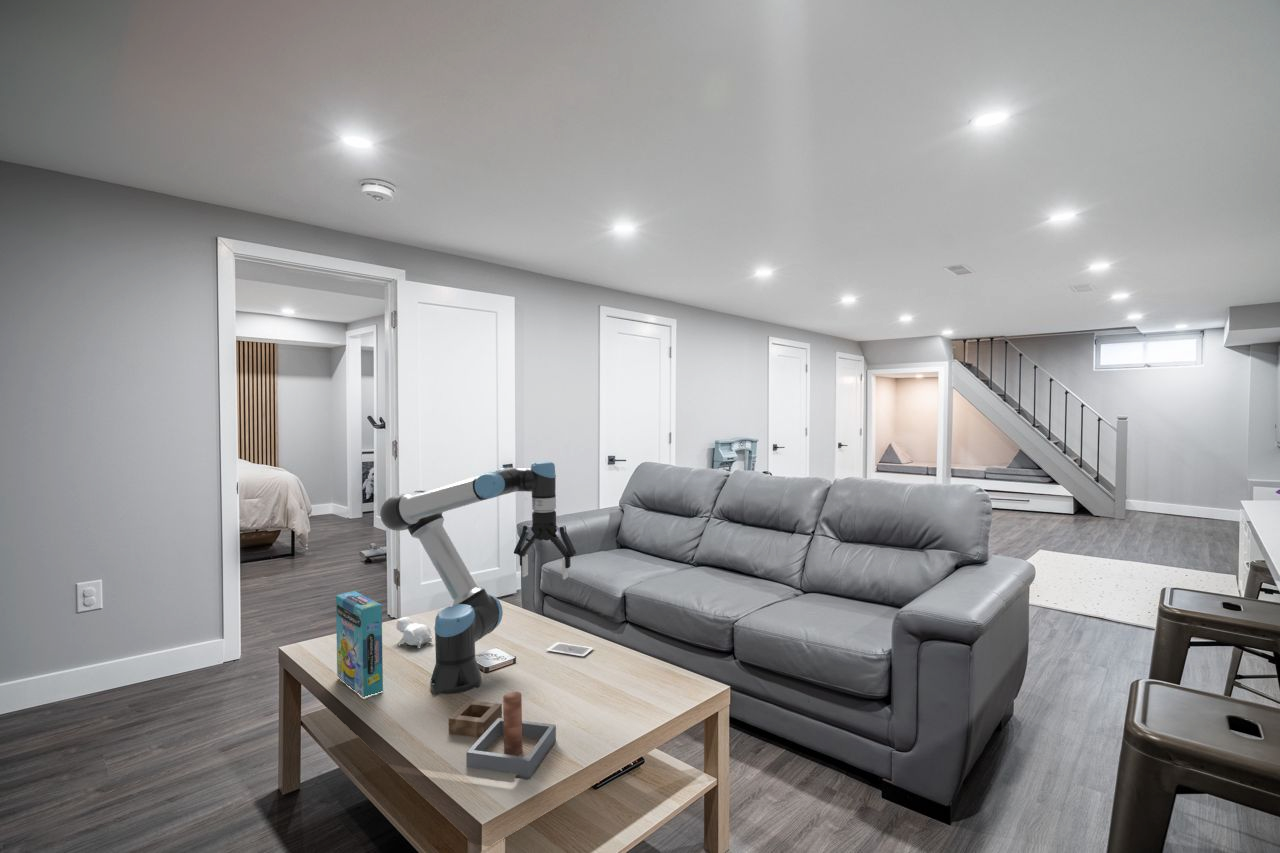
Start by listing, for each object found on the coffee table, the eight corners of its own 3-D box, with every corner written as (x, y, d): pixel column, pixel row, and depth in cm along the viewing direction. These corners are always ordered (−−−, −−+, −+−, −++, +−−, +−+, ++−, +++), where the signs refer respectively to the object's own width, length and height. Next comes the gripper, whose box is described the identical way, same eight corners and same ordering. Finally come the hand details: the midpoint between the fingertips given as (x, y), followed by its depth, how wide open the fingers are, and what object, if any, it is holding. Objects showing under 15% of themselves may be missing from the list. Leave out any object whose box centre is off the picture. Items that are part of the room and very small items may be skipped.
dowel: (500, 756, 142) (499, 699, 142) (509, 746, 147) (508, 690, 146) (517, 758, 141) (516, 700, 141) (525, 748, 146) (524, 692, 145)
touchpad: (557, 645, 214) (557, 639, 214) (594, 650, 209) (594, 644, 209) (545, 653, 207) (545, 647, 207) (583, 659, 202) (583, 653, 201)
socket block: (448, 737, 153) (448, 718, 153) (468, 717, 162) (468, 700, 162) (484, 741, 150) (483, 722, 150) (502, 721, 160) (501, 703, 160)
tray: (466, 770, 138) (466, 752, 138) (498, 734, 154) (498, 717, 154) (529, 779, 134) (529, 760, 134) (556, 741, 150) (555, 724, 150)
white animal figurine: (432, 649, 218) (406, 628, 225) (437, 630, 217) (411, 609, 223) (413, 658, 211) (387, 636, 218) (418, 637, 209) (392, 616, 216)
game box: (336, 679, 187) (334, 595, 187) (356, 673, 192) (354, 590, 191) (362, 700, 173) (360, 609, 173) (384, 692, 178) (382, 603, 177)
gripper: (502, 511, 186) (503, 578, 187) (577, 513, 180) (578, 582, 181) (513, 507, 193) (514, 572, 194) (585, 509, 188) (586, 575, 188)
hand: (545, 577), depth 187 cm, fingers open, 13 cm apart
